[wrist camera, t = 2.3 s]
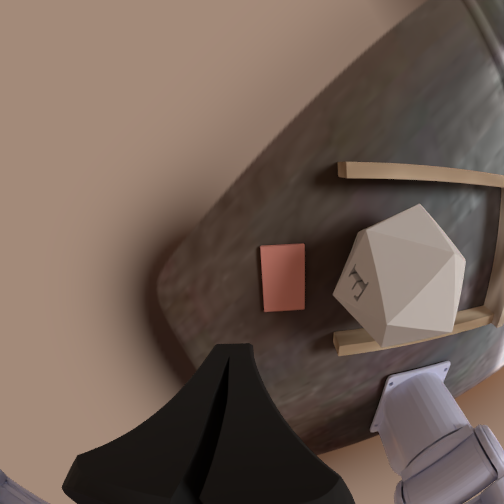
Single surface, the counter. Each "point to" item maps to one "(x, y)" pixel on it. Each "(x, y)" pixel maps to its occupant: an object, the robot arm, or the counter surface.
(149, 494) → the robot arm
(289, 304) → the mat
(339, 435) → the counter surface
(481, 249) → the counter surface
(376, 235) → the die
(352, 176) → the channel
